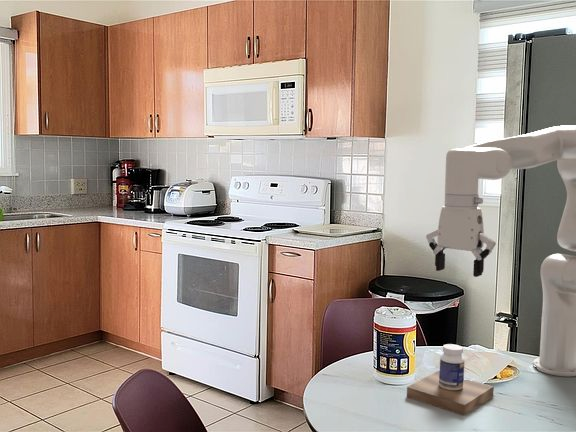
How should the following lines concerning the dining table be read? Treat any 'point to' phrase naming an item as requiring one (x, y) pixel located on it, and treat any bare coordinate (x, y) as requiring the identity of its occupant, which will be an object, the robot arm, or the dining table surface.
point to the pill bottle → (451, 367)
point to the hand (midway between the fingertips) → (458, 272)
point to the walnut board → (450, 394)
